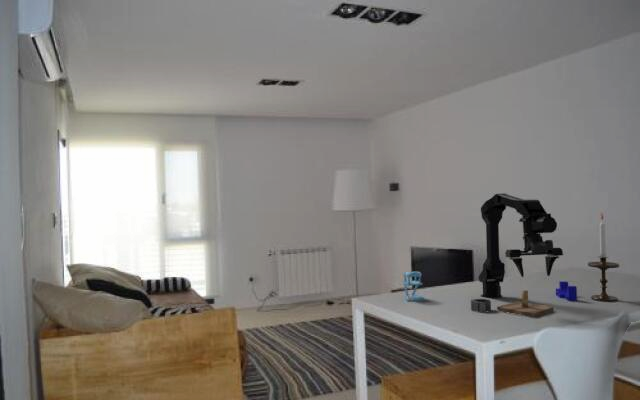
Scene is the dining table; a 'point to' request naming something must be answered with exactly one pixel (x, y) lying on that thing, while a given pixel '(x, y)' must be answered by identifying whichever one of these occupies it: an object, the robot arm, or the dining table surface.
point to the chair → (410, 283)
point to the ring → (480, 305)
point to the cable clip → (566, 291)
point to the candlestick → (603, 267)
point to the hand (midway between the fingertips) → (535, 276)
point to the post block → (525, 307)
